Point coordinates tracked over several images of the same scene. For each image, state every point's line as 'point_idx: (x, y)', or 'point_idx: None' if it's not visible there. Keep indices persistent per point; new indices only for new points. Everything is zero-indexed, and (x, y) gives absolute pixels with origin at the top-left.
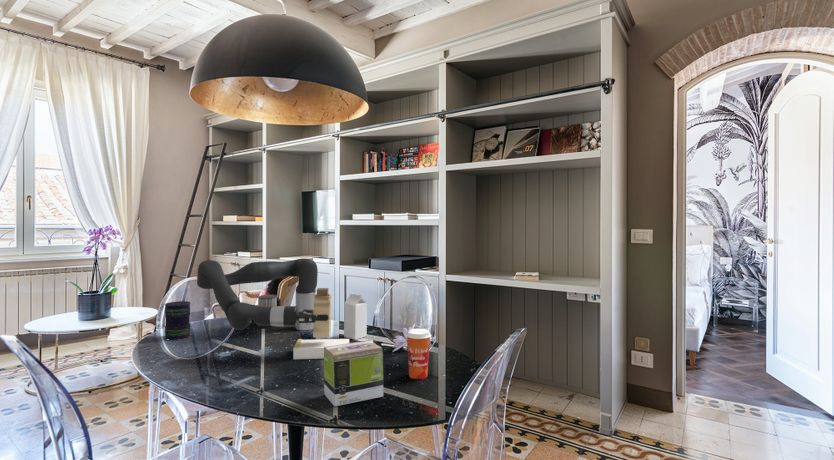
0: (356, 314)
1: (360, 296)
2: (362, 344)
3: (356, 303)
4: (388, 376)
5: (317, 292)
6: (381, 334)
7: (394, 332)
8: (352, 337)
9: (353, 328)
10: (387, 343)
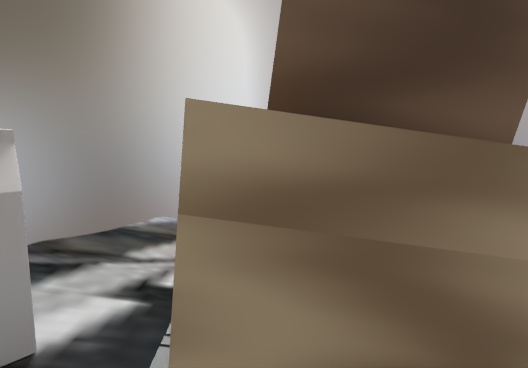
0: (25, 236)
1: (7, 137)
2: None
3: (15, 178)
4: None
5: (526, 59)
6: (46, 267)
7: (58, 243)
8: (9, 356)
9: (14, 312)
10: (167, 273)
